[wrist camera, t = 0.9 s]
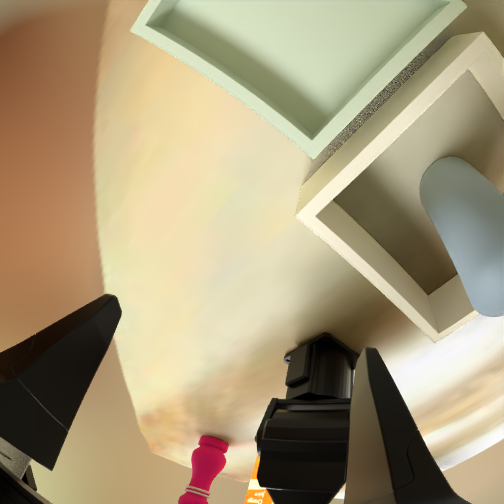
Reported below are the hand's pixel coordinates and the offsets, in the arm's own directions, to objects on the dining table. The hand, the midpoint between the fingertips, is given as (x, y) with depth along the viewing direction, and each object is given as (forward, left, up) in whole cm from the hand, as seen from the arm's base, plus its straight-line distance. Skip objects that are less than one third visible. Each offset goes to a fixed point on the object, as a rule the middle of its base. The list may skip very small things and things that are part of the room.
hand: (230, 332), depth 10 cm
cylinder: (-9, -8, -14) cm, 18 cm away
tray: (+7, -10, -14) cm, 18 cm away
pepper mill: (-26, +52, -14) cm, 59 cm away
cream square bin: (-9, -8, -14) cm, 18 cm away
